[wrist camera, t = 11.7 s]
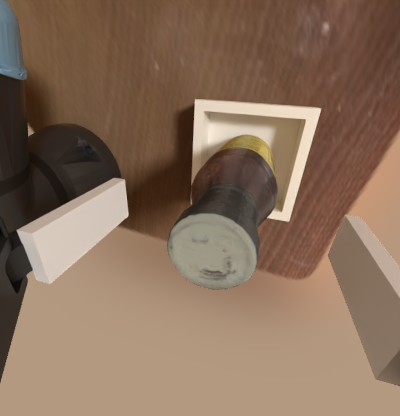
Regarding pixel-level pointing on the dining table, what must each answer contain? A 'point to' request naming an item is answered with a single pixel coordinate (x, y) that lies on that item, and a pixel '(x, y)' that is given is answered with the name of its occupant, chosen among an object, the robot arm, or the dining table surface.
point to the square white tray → (264, 129)
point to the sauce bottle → (225, 215)
